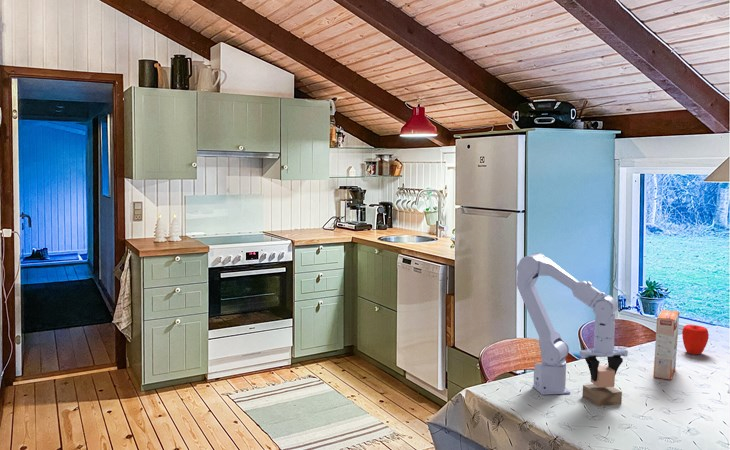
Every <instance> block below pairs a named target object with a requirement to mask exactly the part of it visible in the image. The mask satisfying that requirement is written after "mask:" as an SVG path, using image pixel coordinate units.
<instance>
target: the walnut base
mask: <svg viewBox="0 0 730 450" xmlns="http://www.w3.org/2000/svg"><path fill="white" fill-rule="evenodd" d="M582 398H584V399H586V400H587V401H588V402H590V403H592V404H594V405H595V406H597V407H604V406H613V405H622V401H623V400H622V399H623V391H622V390H619V388H615V386H614V387H600V388H599V387H597V386H596V385H595V384H593V383H590V384H589V383H588V384H583V385H582Z"/></svg>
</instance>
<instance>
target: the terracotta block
mask: <svg viewBox="0 0 730 450" xmlns="http://www.w3.org/2000/svg"><path fill="white" fill-rule="evenodd" d="M615 378H616V375H615V370H613V369H612V368H610V367H608V364H605V365H599V366H598V372H597V381H593V380H592V379H591V378H590V382H591V384H595V385H596V386H597V387H599V388H600V387H614V388H615V381H616V379H615Z"/></svg>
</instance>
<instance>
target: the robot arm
mask: <svg viewBox="0 0 730 450" xmlns="http://www.w3.org/2000/svg"><path fill="white" fill-rule="evenodd" d="M516 270H517V274H516V287H517V290H518V291H519V294H520V296H521V300H522V301H523V303H524V306H525V309H526V310H527V312H528V314H529V315H528V316H529V317H530V319H531V321H532V323H533V327H534V328H535V331H536V333H537V335H538V347H539V349H540V358H541V360H542V361H541V362H539V363H535V364H534V368H533V384H532V388H534V389H535V390H536V391H538V392H539V394H541V395H543V396H544V395H563V394H565V395H566V394H571V393H572V392H571V391H570V389H568V388H566V383H567V382H566V380H567V375H566V374H567V360H566V357H567V356H568V354H569V351H570V348H569V345H568V344H567V342H566V341H565V340H564V339H563V338H562V336H561V334H560V333H558V331H556V330H555V327H554V325H553V323H552V320H551V318H550V316H549V314H548V312H547V309H546V307H545V305H544V303H543V301H542V298H541V296H540V294H539V291H538V290H537V287H536V283H537V281H538V279H539V277H540V276H542V277H544V276H545V277H551V278H552V279H554V280H556V281H557V282H559V283H560V284H562V285H563V286H565V287H567V288H568V289H569V290H571V291H572V295H573V297H574V298H576V299H577V300H579V301H580V302H581V303H583V304H585V305H586V306H587V307H588V308H590V309H592V312H593V313H594V314H595V319H594V331H593V332H594V333H593V334H594V335H593V336H594V337H593V348H588V349H581V350H579V357H580V358H581V359H584V360H585V362H586V364H587V367H588V370H589V373H590V380H591V379H592V380H593V381H597V372H598V366H600V360H598V358H605V357H606V358H607V366H608V367H610V368H612V369H613V370H615V376H616V374H617V372H618V369H619V367H620V366H621V365H622V364H623V362H624V360H623V359H624V357H625V358H626V357H628V356H629V355H628V353H629V351H628V350H627V349H626V348H616V347H615V336H616V335H615V332H616V329H615V328H616V321H615V320H616V314H615V313H616V311H617V310H618V305H619V304H618V301H617V300H616V298H614V297H613V296H612V295H608V294H606V293H605V292H604V291H600V290H599V289H597V288H596V287H594V286H593V283H592V282H591V281H585V280H581V281H579V280H577V279H576V278H575V277H574V276H573V275H571V274H570V273H568V272H567V271H565V270H564V269H563V268H561V266H559V265H558V264H557V263H555V262H554V261H553V260H552V259H551V258H549V257H547V256H545V255H544V254H543V253H541V252H540V253H539V252H535V253H532V254H530V255H526V256H523V257H521V259H520V260H519V262H518V264H517V265H516Z"/></svg>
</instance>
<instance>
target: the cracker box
mask: <svg viewBox="0 0 730 450" xmlns="http://www.w3.org/2000/svg"><path fill="white" fill-rule="evenodd" d="M679 319H680V312H679V311H677V310H667V309H662V310H661V311H660V312H659V314H658V316H657V317H656V328H655V346H654V361H653V378H658V379H663V380H667V381H671V380H672V378H673V376H674V373H675V371H676V363H677V352H678V351H677V350H678V337H679V336H678V335H679V323H680V322H679V321H680V320H679Z"/></svg>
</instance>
